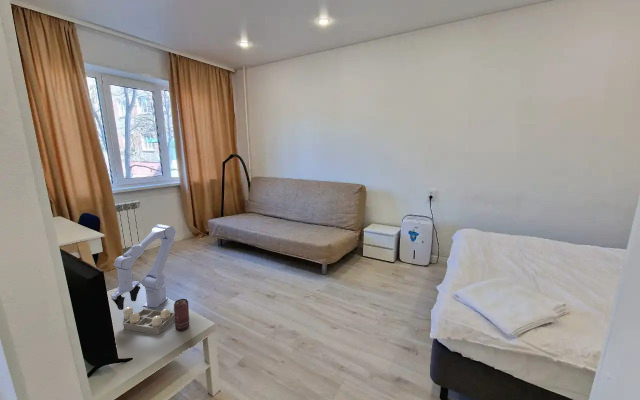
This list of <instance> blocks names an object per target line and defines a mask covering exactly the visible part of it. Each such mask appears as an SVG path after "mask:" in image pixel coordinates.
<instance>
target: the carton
mask: <svg viewBox="0 0 640 400" xmlns="http://www.w3.org/2000/svg"><path fill="white" fill-rule="evenodd" d="M161 312H162V310H155V309H149V308H142V309H141V310H139V311H138V312H137V313H138V314H139V316H140V321H139V322H138V323H136V324H130V319H129V320H125V321H124V322H123V323H122V325H123V330H128V331H133V332H142V333H149V334H155V335H159V334H161V333H162V332H163V331H164V330H166V328H167V327H168V326H169V325H171V324H172V323H173V322H175V315H174V312H173V311H172V312H171V311H170V318H168V319H167V320H164V319H162V325H161V326H159V327H158V328H157V327H152V319H153V318H154V317H155V316H160V317H161Z"/></svg>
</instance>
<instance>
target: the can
mask: <svg viewBox="0 0 640 400" xmlns="http://www.w3.org/2000/svg"><path fill="white" fill-rule="evenodd" d="M173 311H174V312H173V313H174V315H175V320H174V327H175V331H176V332H179V333H181V332H185V331H186V330H188V329H189V327H190V314H189V313H190V309H189V301H188V299H187V298H180V299H177V300H176V301H175V302H174V304H173Z"/></svg>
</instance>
